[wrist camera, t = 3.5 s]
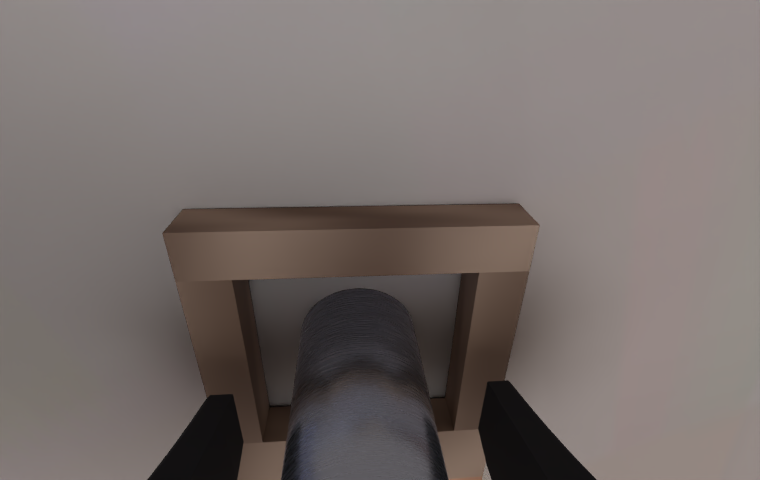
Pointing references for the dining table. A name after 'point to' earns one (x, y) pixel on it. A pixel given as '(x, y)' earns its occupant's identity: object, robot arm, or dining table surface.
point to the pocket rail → (347, 259)
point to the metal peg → (361, 395)
